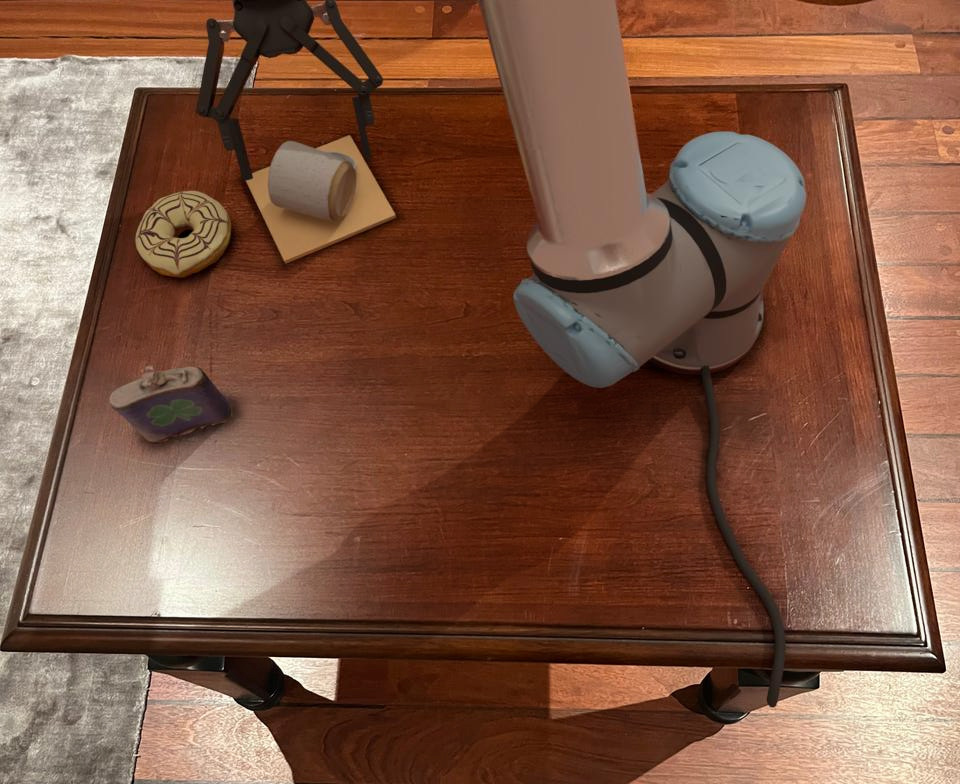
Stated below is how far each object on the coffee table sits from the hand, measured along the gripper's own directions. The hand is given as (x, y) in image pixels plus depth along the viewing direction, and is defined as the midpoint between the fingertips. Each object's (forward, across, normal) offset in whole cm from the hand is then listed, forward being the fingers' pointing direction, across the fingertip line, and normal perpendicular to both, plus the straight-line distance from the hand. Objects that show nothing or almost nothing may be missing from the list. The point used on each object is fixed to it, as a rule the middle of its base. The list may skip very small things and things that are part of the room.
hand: (308, 169), depth 90 cm
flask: (+22, +17, +13) cm, 31 cm away
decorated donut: (+6, +16, -3) cm, 17 cm away
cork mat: (+4, 0, -5) cm, 6 cm away
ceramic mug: (+4, -1, -5) cm, 6 cm away
